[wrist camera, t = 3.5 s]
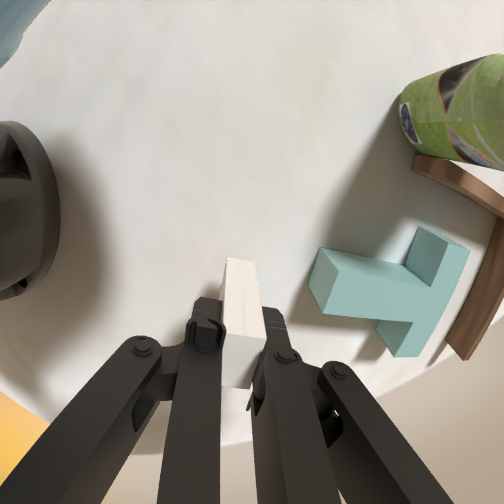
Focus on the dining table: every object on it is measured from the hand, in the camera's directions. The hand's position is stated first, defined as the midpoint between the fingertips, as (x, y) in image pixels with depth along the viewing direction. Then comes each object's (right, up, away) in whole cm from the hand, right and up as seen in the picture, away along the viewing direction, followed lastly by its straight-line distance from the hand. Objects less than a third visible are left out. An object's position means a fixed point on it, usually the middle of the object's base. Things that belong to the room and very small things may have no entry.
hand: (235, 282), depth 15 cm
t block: (+11, 0, +5) cm, 12 cm away
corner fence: (+19, 0, +6) cm, 19 cm away
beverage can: (+13, +12, +1) cm, 18 cm away
